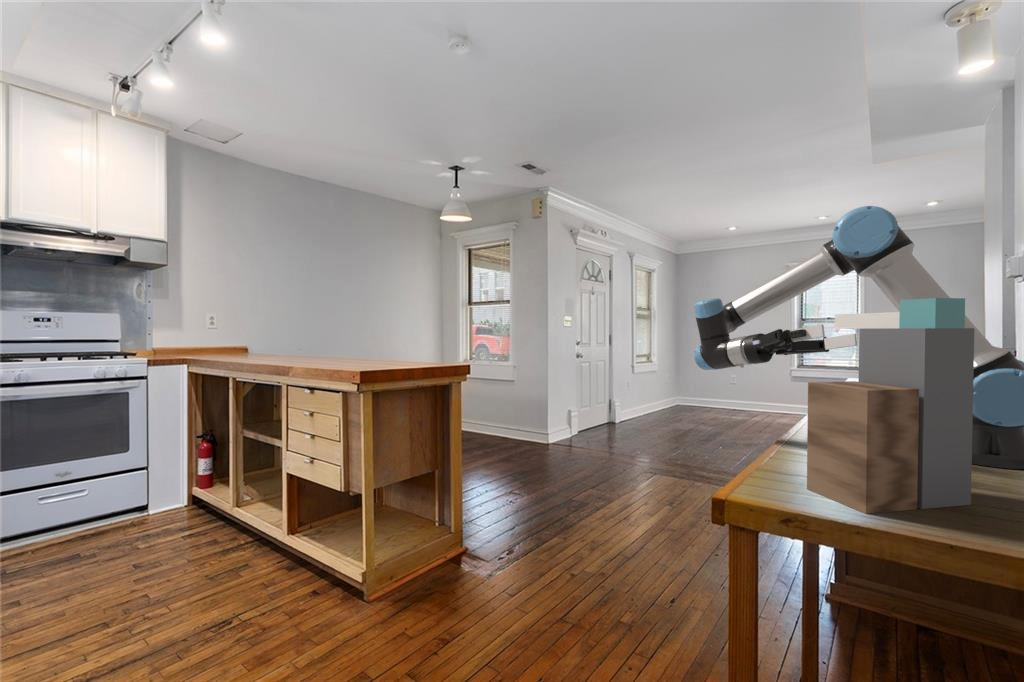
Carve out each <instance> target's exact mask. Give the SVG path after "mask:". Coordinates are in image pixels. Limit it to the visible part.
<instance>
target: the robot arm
mask: <svg viewBox="0 0 1024 682" xmlns="http://www.w3.org/2000/svg"><path fill="white" fill-rule="evenodd" d="M831 237H832V239H830V240H829V241H827V242H826V243H824V244H822V245H821V246H820V250H819V251H818V252H816V253H814V254H812V255H811V256H809V257H808V258H805V259H804V260H802V261H800V262H799V263H797V264H795V265H793V266H791V267H789V268H788V269H786V270H784V271H782V272H781V273H779V274H777V275H775V276H773V277H772V278H770V279H768V280H767V281H765V282H763V283H762V284H760V285H758V286H756V287H754V288H752V289H751V290H749V291H748V292H746V293H744V294H742V295H741V296H739V297H737V298H735V299H734V300H731V301H730V302H727V303H726V304H725V305H723V301H722V299H720V297H719V298H709V299H705V300H704V299H703V300H701V301H698V302H696V303H695V304H694V305H693V310H694V318H695V319H696V325H697V330H698V333H699V334H698V335H699V338H700V339H699V341H700V345H698V346H696V347H695V349H694V354H693V357H694V361H695V364H696V365H697V366H698V367H699V368H700V369H701V370H704V371H711V370H721V369H722V370H723V369H727V368H728V369H729V368H734V367H735V368H736V367H739V368H741V369H742V368H745V367H744V366H749V365H757V364H764V363H765V364H766V363H768V362H770V361H771V360H772V358H773V356H774V354H775V355H777V356H779V355H781V356H789V355H797V354H800V355H801V354H813V353H814V354H815V353H829V352H830V350H835V349H842V348H849V347H856V346H858V340H857V339H858V338H857V334H856V333H850V334H844V335H836V336H831V337H827V336H826V335H825V327H824V324H822V323H819V324H814V325H809V326H805V327H799V328H795V329H791V330H790V329H785V330H783V329H781V328H778V329H776V330H773V331H770V332H768V333H761V332H759V333H754V334H750V335H744V336H739V337H734V338H730V333H733V332H734V331H736V330H737V329H738V328H739V327H741V326H743V325H745V324H746V323H748V322H750V321H752V320H754V319H756V318H758V317H759V316H761V315H763V314H765V313H767V312H769V311H771V310H773V309H775V308H777V307H778V306H780V305H782V304H785V303H787V302H789V301H790V300H791V299H794V298H796V297H797V296H799V295H802V294H803V293H805V292H807V291H809V290H811V289H812V288H814V287H816V286H818V285H820V284H823V283H824V282H826V281H828V280H830V279H831V278H833V277H836V276H840V277H841V276H843V277H844V276H846V275H848V274H849V273H851V272H854V271H855V272H856V273H857V275H858V276H859V277H864V278H870V279H871V280H872V281H873V283H875V284H876V286H877V287H878V288H879V289H880V291H882V294H884V295H885V297H886V298H887V299H888V300H889V301H890V302H891V304H892V305H893V306H894V307H895V308H896V310H897V312H900V300H912V299H928V298H951V297H950V296H949V294H947V292H946V291H945V289H943V288H942V287H941V285H940V284H938V282H937V281H936V280H935V278H933V277H932V275H931V274H930V273H929V272H928V271H927V270H926V269H925V267H923V265H922V264H921V263H920V262H919V260H918V259H917V258H915V256H914V255H913V251H914V248H915V243H914V242H913V241H912V240H911V239H910V237H909V236H908V235H907V234H906V233H905V232H904V230H902V228H901V227H900V226H899V224H898V221H897V218H896V217H895V215H894V214H893V213H892V212H891V211H889V210H888V209H886V208H883V207H880V206H875V205H864V206H860V207H855V208H853V209H851V210H849V211H848V212H846V213H845V214H843V215H842V216H841V217H840V218H839V219H838V221H837V223H836V224H835V226H834V228H833V231H832V236H831ZM965 328H974V376H973V426H972V464H974V465H978V466H985V467H992V468H999V469H1000V468H1001V469H1009V470H1011V469H1013V470H1024V361H1022V360H1020V359H1017V358H1016V356H1015V355H1014V354H1013V353H1012V352H1011V351H1010V350H1009V349H1008V348H1002V347H999V346H998V347H997V346H994V345H992V343H991V342H990V341H989V340H988V339H987V338H986V337H985V336H984V335H983V333H982V332H981V331H980V330H979V328H977V326H976V325H975V324H974V323H973V322H972V321H971V320H970V318H969V317H968V316H967V315H966V314H965ZM820 338H822V339H820Z"/></svg>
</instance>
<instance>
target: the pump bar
mask: <svg viewBox="0 0 1024 682" xmlns="http://www.w3.org/2000/svg"><path fill="white" fill-rule="evenodd" d="M965 315H966V298H964V297H963V298H962V297H957V298H956V297H954V298H953V297H950V298H928V299H912V300H900V312H899V311H891V312H890V311H887V312H865V313H864V312H863V313H860V312H859V313H838V314H836V313H835V314H834V330H835V329H837V330H838V329H840V330H842V329H844V330H845V329H847V330H850V329H852V330H854V329H855V330H859V329H875V328H965Z"/></svg>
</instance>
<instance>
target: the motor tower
mask: <svg viewBox="0 0 1024 682" xmlns="http://www.w3.org/2000/svg"><path fill="white" fill-rule="evenodd" d="M858 335H859V336H858V382H864V383H873V384H881V385H890V386H898V387H907V388H915V389H919V430H918V486H917V509H918V508H919V509H921V510H926V509H937V508H938V509H939V508H950V507H951V508H952V507H962V506H971V505H972V473H973V472H972V467H973V465H972V426H973V376H974V328H875V329H858Z"/></svg>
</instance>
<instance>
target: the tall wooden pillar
mask: <svg viewBox="0 0 1024 682" xmlns="http://www.w3.org/2000/svg"><path fill="white" fill-rule="evenodd" d="M918 430H919V389H915V388H907V387H898V386H890V385H881V384H873V383H864V382H859V381H855V380H852V381H851V380H850V381H847V380H846V381H845V380H844V381H815V382H814V381H813V382H812V381H811V382H810V381H809V382H807V437H806V438H807V441H806V442H807V444H806V445H807V446H806V449H807V451H806V453H807V454H806V455H807V456H806V490H808V491H811V492H812V493H816V494H817V495H820V496H823V497H825V498H827V499H829V500H832V501H834V502H837V503H839V504H842V505H844V506H846V507H848V508H851V509H854V510H856V511H858V512H860V513H863V514H878V513H879V514H880V513H889V512H900V511H902V512H903V511H914V510H915V511H916V510H918V507H917V486H918Z"/></svg>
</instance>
